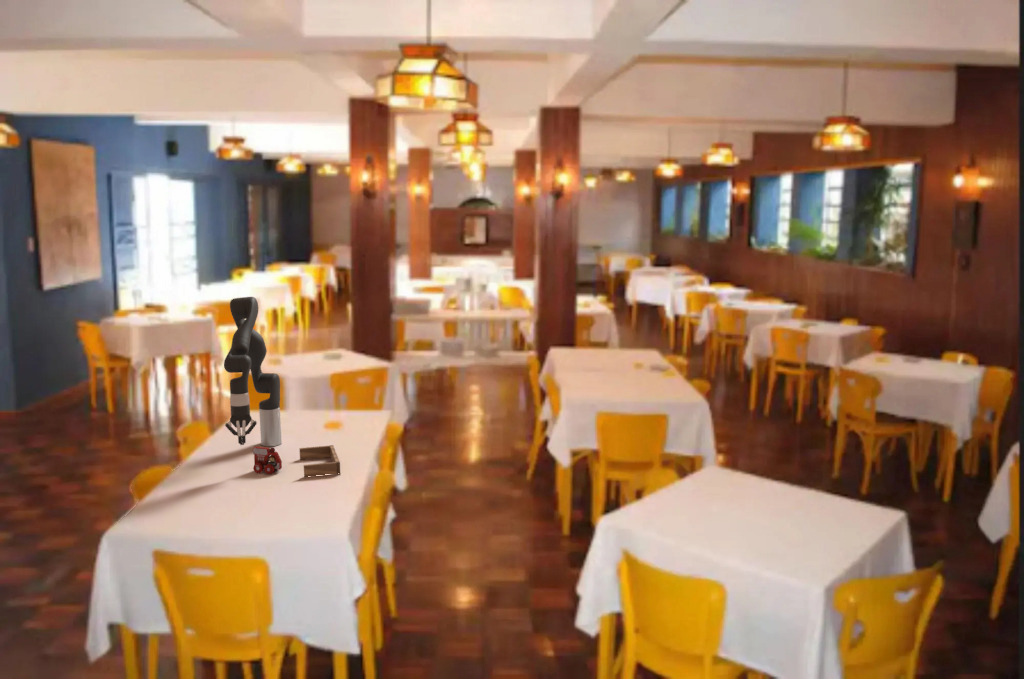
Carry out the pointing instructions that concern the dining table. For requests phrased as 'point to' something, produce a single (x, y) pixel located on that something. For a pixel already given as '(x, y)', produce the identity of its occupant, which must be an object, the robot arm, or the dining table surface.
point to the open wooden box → (321, 467)
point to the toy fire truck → (266, 460)
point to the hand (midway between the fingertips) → (242, 444)
